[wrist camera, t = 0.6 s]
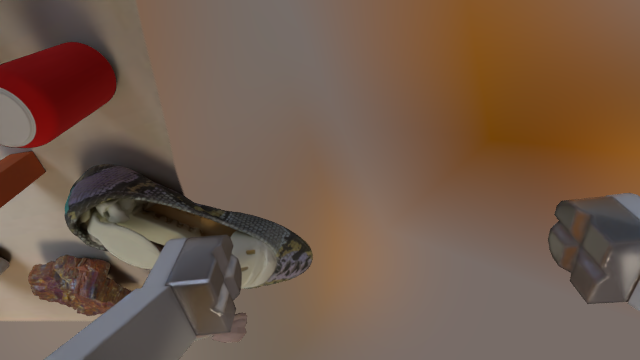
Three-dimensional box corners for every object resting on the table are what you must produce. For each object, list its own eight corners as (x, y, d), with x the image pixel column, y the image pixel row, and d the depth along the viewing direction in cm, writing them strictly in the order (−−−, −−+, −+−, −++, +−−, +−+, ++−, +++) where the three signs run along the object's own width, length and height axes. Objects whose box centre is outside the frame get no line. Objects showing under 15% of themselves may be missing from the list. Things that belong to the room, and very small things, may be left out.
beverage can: (54, 87, 37) (-48, 138, 26) (59, 28, 34) (-55, 59, 23) (116, 111, 38) (42, 168, 28) (126, 56, 35) (46, 97, 25)
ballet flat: (292, 285, 54) (299, 341, 45) (70, 223, 44) (22, 279, 35) (325, 227, 50) (340, 275, 41) (92, 145, 40) (45, 186, 31)
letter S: (8, 154, 41) (-55, 194, 34) (32, 150, 40) (-26, 190, 34) (23, 176, 42) (-33, 219, 36) (47, 173, 42) (-6, 215, 35)
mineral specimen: (123, 255, 46) (108, 311, 43) (145, 268, 53) (134, 317, 50) (27, 252, 46) (5, 308, 43) (62, 265, 53) (46, 314, 50)
